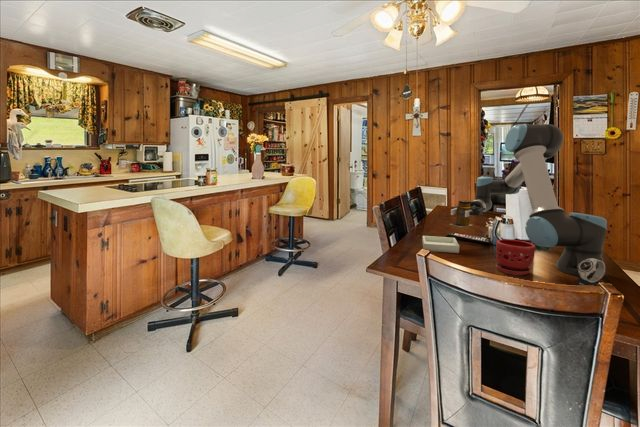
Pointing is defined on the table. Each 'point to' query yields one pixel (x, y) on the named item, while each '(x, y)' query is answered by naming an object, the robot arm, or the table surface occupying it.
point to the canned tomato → (541, 248)
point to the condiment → (462, 214)
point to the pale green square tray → (440, 244)
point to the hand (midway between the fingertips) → (458, 213)
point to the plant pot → (514, 256)
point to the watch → (590, 271)
